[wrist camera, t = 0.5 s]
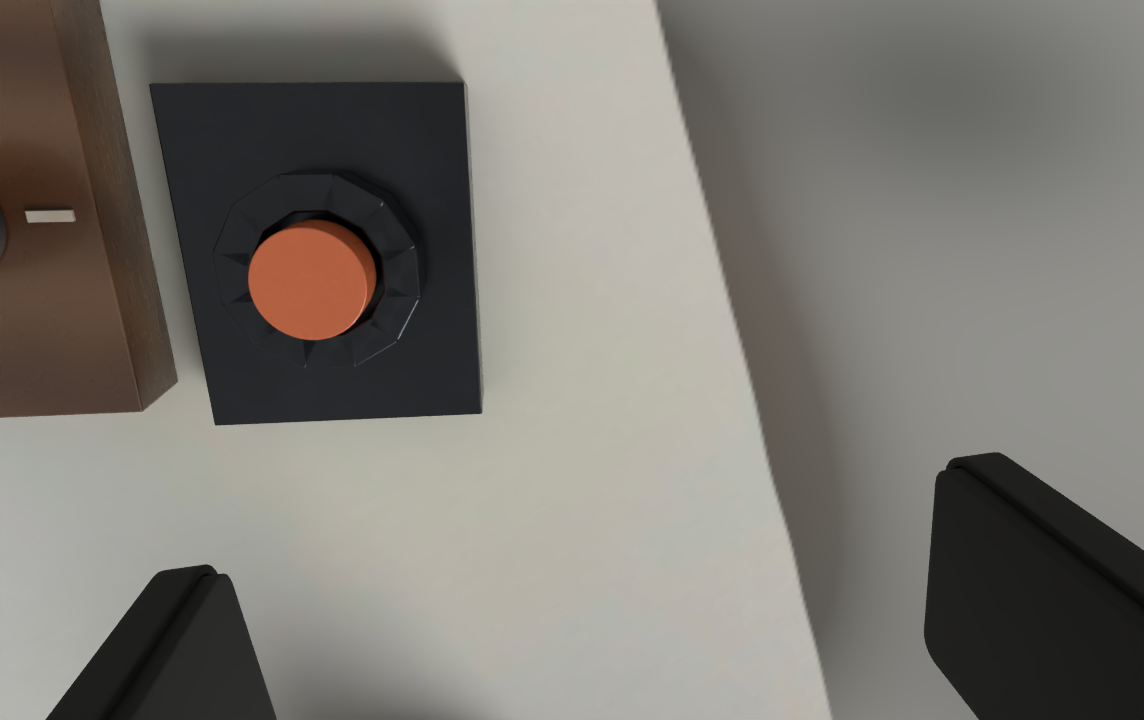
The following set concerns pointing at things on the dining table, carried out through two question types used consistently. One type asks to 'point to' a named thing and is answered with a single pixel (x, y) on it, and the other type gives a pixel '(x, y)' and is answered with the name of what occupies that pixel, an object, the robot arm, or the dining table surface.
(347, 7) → the dining table surface
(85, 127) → the dial panel
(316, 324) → the push knob
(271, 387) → the black button base
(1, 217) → the dial
